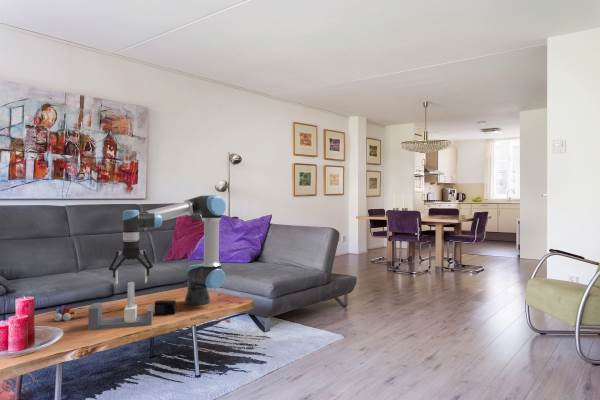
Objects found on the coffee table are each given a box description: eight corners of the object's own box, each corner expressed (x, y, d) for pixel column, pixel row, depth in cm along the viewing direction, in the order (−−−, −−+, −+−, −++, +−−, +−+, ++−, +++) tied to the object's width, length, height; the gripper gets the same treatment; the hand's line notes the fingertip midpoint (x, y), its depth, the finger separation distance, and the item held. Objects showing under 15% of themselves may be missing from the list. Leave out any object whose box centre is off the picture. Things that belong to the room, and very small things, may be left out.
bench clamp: (152, 318, 213) (152, 299, 214) (151, 325, 202) (151, 304, 202) (93, 323, 205) (93, 303, 205) (88, 330, 194) (88, 308, 194)
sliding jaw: (137, 316, 210) (137, 280, 210) (135, 320, 201) (135, 284, 201) (126, 316, 208) (126, 281, 209) (124, 321, 200) (124, 284, 200)
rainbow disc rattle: (71, 321, 209) (71, 307, 209) (50, 322, 207) (51, 308, 208) (77, 317, 217) (78, 303, 217) (58, 317, 216) (58, 304, 216)
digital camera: (153, 316, 219) (153, 303, 219) (155, 313, 224) (155, 300, 224) (174, 315, 220) (174, 302, 220) (175, 312, 226) (175, 300, 226)
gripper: (157, 239, 213) (158, 280, 212) (105, 241, 205) (105, 283, 205) (157, 240, 205) (157, 282, 205) (102, 242, 198) (102, 286, 198)
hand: (131, 283), depth 205 cm, fingers open, 13 cm apart
